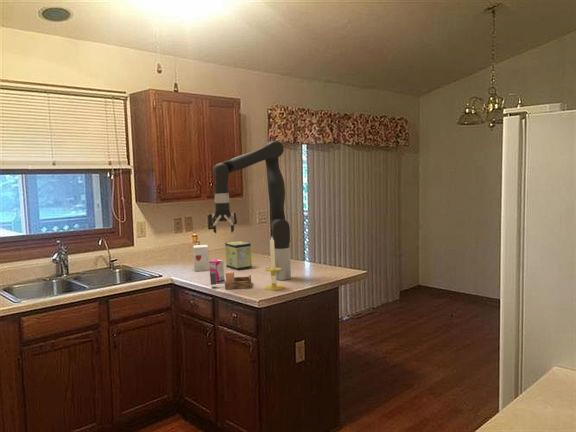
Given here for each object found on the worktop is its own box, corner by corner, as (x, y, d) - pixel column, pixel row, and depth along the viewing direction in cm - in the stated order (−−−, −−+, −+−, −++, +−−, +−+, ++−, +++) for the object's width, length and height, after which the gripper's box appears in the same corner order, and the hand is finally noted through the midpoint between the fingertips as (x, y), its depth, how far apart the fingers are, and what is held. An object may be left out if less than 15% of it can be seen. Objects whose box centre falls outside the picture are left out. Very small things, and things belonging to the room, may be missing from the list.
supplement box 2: (217, 279, 280) (216, 259, 279) (224, 280, 276) (223, 260, 275) (209, 281, 275) (208, 260, 274) (217, 282, 271) (216, 261, 270)
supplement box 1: (194, 271, 305) (193, 247, 303) (194, 268, 313) (192, 245, 312) (209, 270, 306) (208, 246, 305) (208, 267, 315) (207, 244, 314)
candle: (287, 287, 253) (285, 235, 250) (271, 291, 247) (268, 237, 245) (276, 284, 261) (274, 233, 258) (260, 287, 255) (258, 235, 253)
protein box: (240, 264, 321) (239, 240, 320) (252, 268, 308) (251, 243, 307) (225, 267, 315) (224, 242, 314) (237, 270, 302) (236, 245, 301)
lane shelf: (251, 282, 267) (250, 274, 267) (250, 288, 255) (250, 279, 255) (227, 284, 267) (226, 275, 266) (225, 289, 255) (224, 280, 254)
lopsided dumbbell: (234, 282, 263) (233, 270, 263) (233, 284, 258) (233, 272, 258) (211, 283, 263) (211, 271, 262) (210, 285, 258) (210, 273, 257)
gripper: (236, 200, 264) (237, 231, 265) (209, 202, 263) (210, 232, 265) (235, 201, 256) (237, 233, 258) (207, 203, 256) (209, 234, 257)
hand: (223, 232), depth 261 cm, fingers open, 8 cm apart
